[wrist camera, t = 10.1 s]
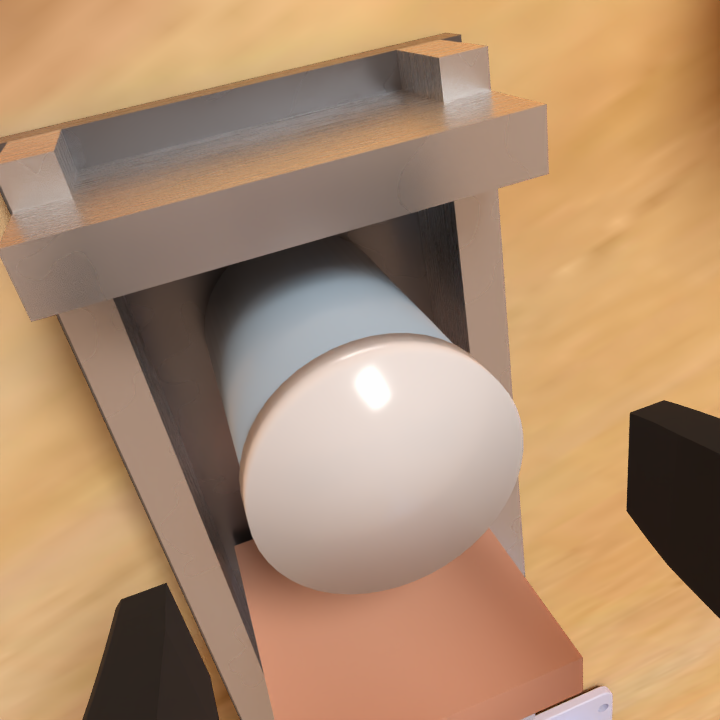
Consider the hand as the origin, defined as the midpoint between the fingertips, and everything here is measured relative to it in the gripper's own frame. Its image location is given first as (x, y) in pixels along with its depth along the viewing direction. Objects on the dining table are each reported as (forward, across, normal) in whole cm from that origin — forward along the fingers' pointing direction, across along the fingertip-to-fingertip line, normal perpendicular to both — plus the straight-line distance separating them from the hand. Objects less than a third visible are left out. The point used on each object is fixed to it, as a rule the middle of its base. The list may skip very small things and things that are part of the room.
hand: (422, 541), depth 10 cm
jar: (+8, 0, 0) cm, 8 cm away
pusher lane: (+9, 0, +5) cm, 10 cm away
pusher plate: (+8, 0, +6) cm, 10 cm away
